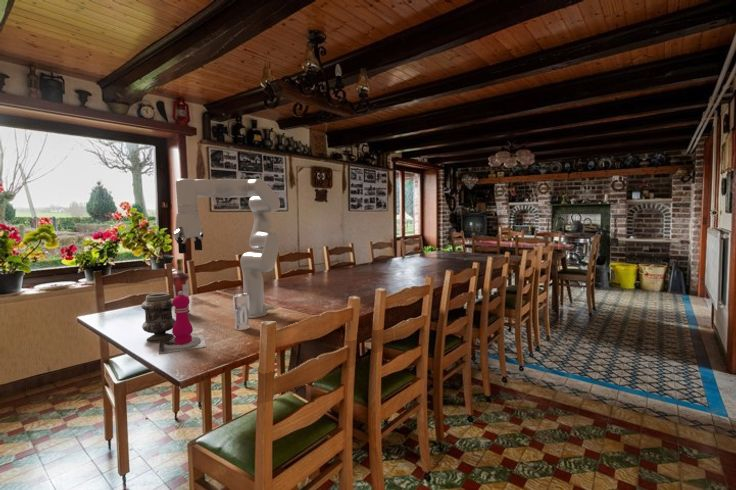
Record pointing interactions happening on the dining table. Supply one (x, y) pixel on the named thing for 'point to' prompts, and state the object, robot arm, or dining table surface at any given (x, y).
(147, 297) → the stone urn vase
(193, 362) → the dining table surface
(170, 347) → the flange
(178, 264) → the liquor
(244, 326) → the white drink can
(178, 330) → the pepper mill
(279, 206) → the robot arm
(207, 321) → the dining table surface
